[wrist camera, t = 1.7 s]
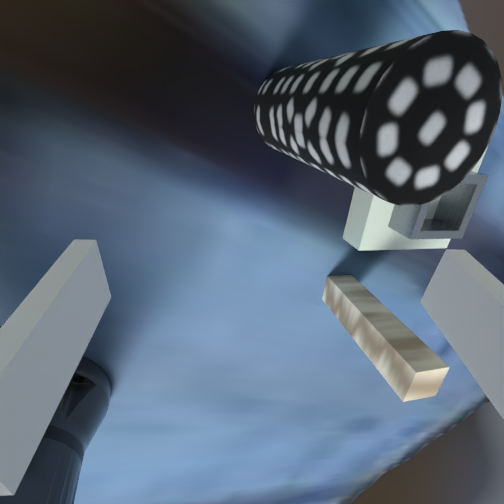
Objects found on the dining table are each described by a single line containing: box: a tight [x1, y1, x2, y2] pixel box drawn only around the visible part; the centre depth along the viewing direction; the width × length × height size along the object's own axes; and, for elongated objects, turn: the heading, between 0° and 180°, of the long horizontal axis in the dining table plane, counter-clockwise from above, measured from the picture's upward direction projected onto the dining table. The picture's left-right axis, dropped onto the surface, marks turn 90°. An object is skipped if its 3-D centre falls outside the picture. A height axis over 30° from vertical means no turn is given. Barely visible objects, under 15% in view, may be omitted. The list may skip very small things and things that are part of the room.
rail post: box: [322, 275, 449, 402], centre depth 38 cm, size 4×4×18 cm
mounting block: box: [343, 144, 489, 251], centre depth 39 cm, size 14×14×4 cm
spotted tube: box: [254, 30, 502, 206], centre depth 24 cm, size 8×8×20 cm
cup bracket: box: [388, 171, 488, 239], centre depth 36 cm, size 8×8×4 cm
